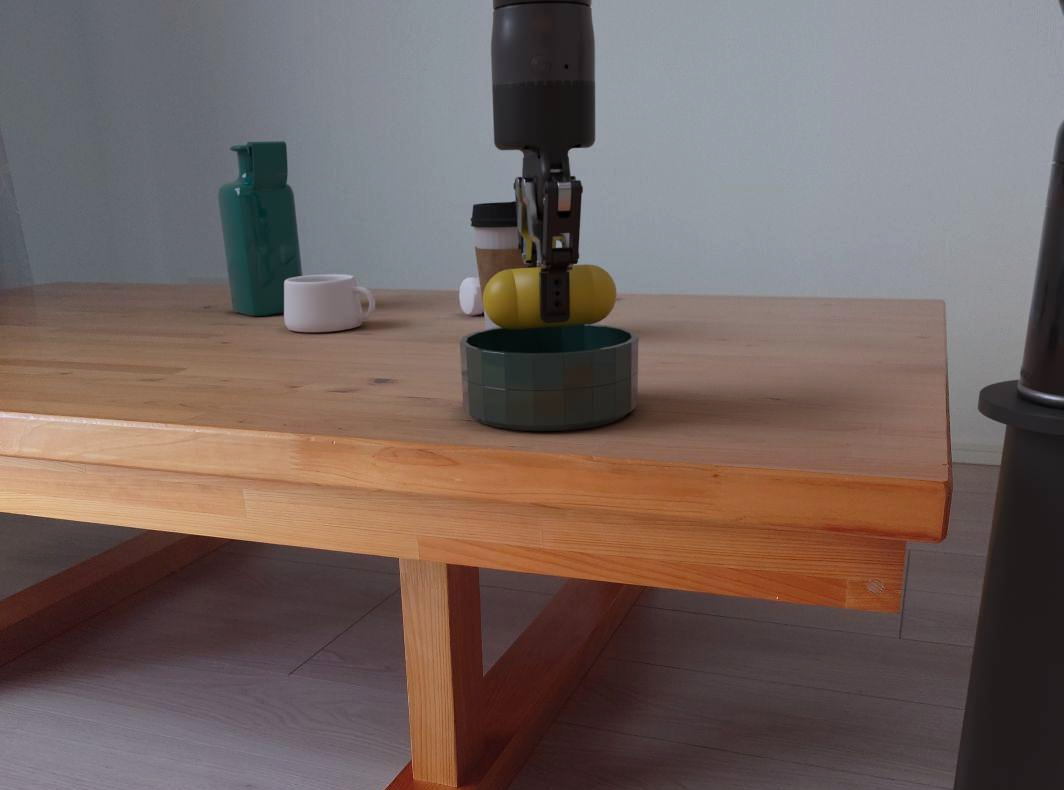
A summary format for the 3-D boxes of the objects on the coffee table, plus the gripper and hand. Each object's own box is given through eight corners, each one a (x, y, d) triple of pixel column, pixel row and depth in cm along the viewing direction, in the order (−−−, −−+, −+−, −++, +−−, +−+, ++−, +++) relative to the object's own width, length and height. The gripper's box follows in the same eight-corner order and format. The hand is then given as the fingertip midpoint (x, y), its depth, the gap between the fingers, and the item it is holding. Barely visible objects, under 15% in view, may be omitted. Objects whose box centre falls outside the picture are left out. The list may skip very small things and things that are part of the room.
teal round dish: (653, 396, 86) (654, 325, 84) (611, 439, 74) (611, 357, 71) (500, 388, 90) (498, 321, 88) (436, 427, 78) (431, 350, 76)
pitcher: (228, 312, 141) (205, 143, 133) (282, 305, 146) (264, 142, 138) (259, 319, 134) (238, 141, 126) (316, 311, 139) (298, 140, 131)
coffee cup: (527, 346, 110) (522, 201, 104) (461, 341, 113) (454, 201, 108) (562, 333, 116) (560, 196, 111) (499, 329, 120) (494, 197, 115)
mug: (270, 333, 123) (264, 282, 121) (308, 320, 132) (303, 273, 129) (360, 335, 120) (355, 283, 117) (393, 322, 128) (389, 273, 126)
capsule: (615, 334, 81) (605, 287, 83) (626, 297, 77) (615, 250, 78) (485, 343, 79) (477, 296, 81) (489, 307, 75) (480, 258, 77)
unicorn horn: (630, 301, 139) (631, 265, 137) (472, 318, 129) (470, 280, 128) (613, 297, 143) (613, 262, 141) (458, 314, 133) (456, 276, 132)
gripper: (619, 70, 67) (618, 328, 73) (571, 84, 80) (573, 302, 86) (509, 72, 66) (517, 334, 72) (478, 86, 79) (487, 307, 85)
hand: (548, 315), depth 79 cm, fingers closed on capsule, 4 cm apart
